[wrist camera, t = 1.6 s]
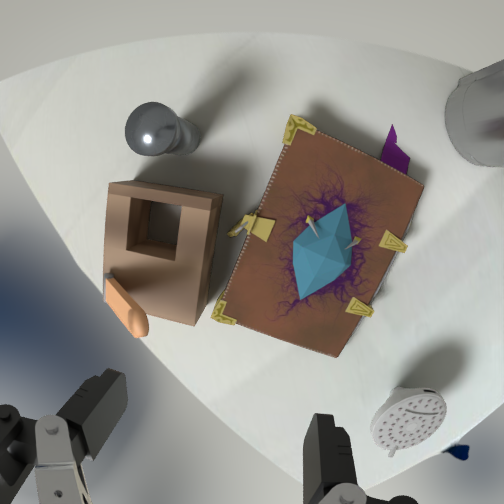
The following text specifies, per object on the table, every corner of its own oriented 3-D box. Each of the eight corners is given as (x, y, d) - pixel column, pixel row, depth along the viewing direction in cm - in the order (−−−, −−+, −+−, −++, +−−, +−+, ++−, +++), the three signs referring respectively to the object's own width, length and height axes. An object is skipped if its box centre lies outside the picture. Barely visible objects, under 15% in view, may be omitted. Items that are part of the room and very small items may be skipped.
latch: (111, 272, 29) (102, 273, 28) (150, 313, 23) (139, 315, 23) (111, 298, 30) (102, 299, 29) (149, 343, 24) (138, 345, 23)
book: (429, 148, 29) (453, 148, 24) (335, 346, 35) (343, 371, 31) (290, 78, 28) (294, 64, 23) (202, 297, 34) (192, 318, 30)
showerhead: (356, 456, 29) (400, 395, 27) (349, 416, 36) (383, 357, 34) (419, 459, 29) (463, 402, 26) (405, 424, 36) (442, 369, 33)
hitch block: (132, 180, 31) (109, 182, 27) (223, 194, 31) (211, 199, 26) (124, 285, 35) (103, 301, 30) (206, 305, 34) (194, 326, 29)
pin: (168, 116, 29) (130, 101, 21) (207, 120, 29) (179, 103, 21) (161, 156, 31) (121, 153, 22) (199, 161, 30) (169, 158, 22)
